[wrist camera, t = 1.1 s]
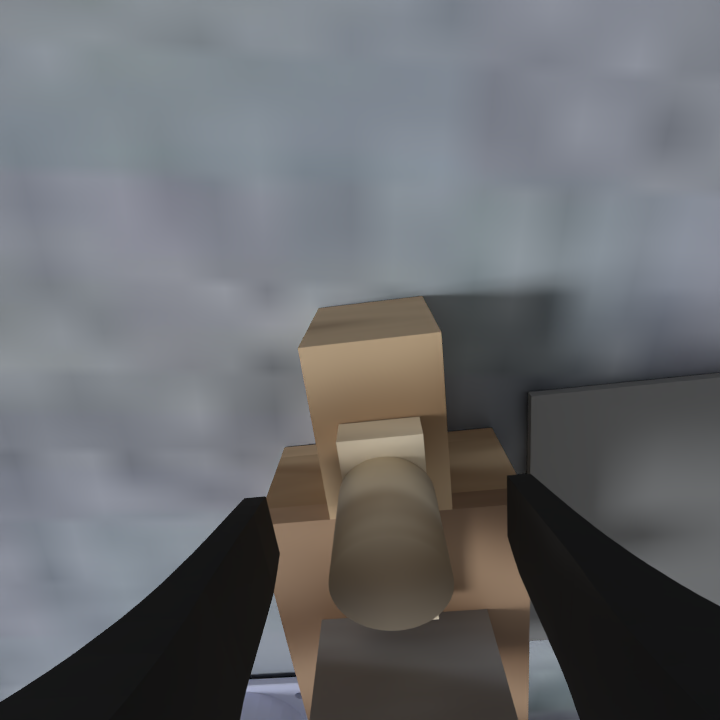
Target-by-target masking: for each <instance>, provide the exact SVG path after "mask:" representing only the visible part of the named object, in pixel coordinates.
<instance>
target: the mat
mask: <svg viewBox="0 0 720 720" xmlns="http://www.w3.org/2000/svg"><path fill="white" fill-rule="evenodd" d="M527 474H532V475H533V476H534V477H535V478H536V479H538V480H539V481H540V482H541V483H542V484H543V485H545V486H546V487H547V488H548V489H549V490H551V491H552V492H553V493H554V494H555V495H556V496H558V497H559V498H560V499H561V500H562V501H564V502H565V503H566V504H567V505H568V506H570V507H571V508H572V509H573V510H574V511H576V512H577V513H578V514H579V515H581V516H582V517H583V518H585V519H586V520H587V521H588V522H590V523H591V524H592V525H593V526H595V527H596V528H597V529H599V530H600V531H601V532H603V533H604V534H605V535H607V536H608V537H609V538H611V539H612V540H614V541H615V542H616V543H618V544H619V545H621V546H622V547H624V548H625V549H626V550H628V551H629V552H631V553H632V554H634V555H635V556H637V557H638V558H640V559H641V560H643V561H644V562H646V563H647V564H649V565H650V566H652V567H654V568H655V569H657V570H658V571H660V572H662V573H663V574H665V575H666V576H668V577H670V578H671V579H673V580H675V581H676V582H678V583H679V584H681V585H683V586H685V587H686V588H688V589H690V590H692V591H693V592H695V593H697V594H698V595H700V596H702V597H704V598H706V599H708V600H710V601H711V602H713V603H715V604H717V605H719V606H720V373H712V374H703V375H693V376H683V377H673V378H663V379H653V380H643V381H633V382H623V383H613V384H603V385H594V386H584V387H574V388H564V389H554V390H544V391H534V392H528V436H527ZM535 640H548V638H547V635H546V633H545V631H544V629H543V626H542V624H541V622H540V620H539V617H538V615H537V613H536V611H535V609H534V606H533V604H532V602H531V600H530V630H529V641H535Z"/></svg>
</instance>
